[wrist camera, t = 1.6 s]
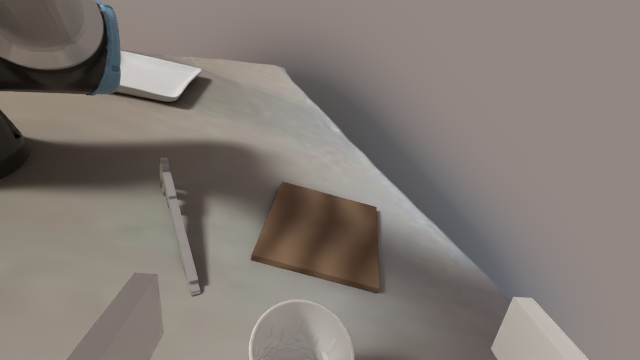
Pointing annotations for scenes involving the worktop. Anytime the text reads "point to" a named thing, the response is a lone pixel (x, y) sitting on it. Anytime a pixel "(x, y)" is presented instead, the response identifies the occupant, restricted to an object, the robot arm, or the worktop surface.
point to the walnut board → (321, 237)
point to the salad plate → (154, 77)
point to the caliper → (178, 226)
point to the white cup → (300, 334)
